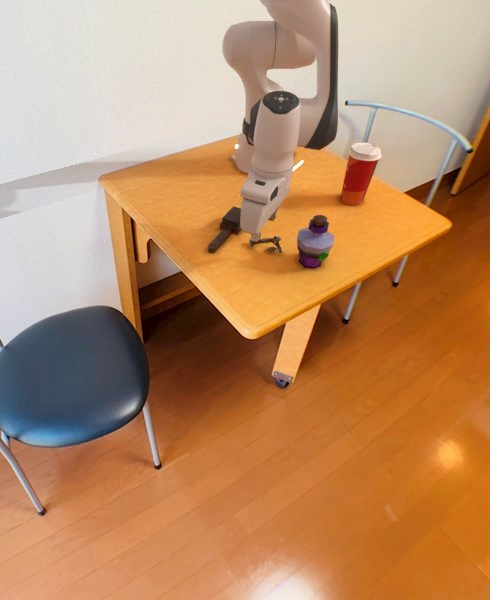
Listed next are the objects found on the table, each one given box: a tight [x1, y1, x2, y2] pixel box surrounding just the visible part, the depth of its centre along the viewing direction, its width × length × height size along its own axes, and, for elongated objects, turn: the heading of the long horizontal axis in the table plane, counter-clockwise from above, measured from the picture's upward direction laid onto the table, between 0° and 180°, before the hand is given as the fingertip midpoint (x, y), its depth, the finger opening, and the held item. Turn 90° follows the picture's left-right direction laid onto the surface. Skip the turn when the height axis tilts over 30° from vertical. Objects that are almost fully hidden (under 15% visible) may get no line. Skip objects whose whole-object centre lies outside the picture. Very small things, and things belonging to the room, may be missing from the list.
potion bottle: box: [296, 214, 336, 270], centre depth 97 cm, size 9×9×12 cm
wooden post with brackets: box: [248, 235, 283, 254], centre depth 104 cm, size 2×8×4 cm, turn 60°
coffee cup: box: [340, 142, 382, 206], centre depth 116 cm, size 8×8×15 cm
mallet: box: [207, 206, 243, 254], centre depth 108 cm, size 17×5×3 cm, turn 150°
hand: (263, 229), depth 102 cm, fingers open, 8 cm apart
